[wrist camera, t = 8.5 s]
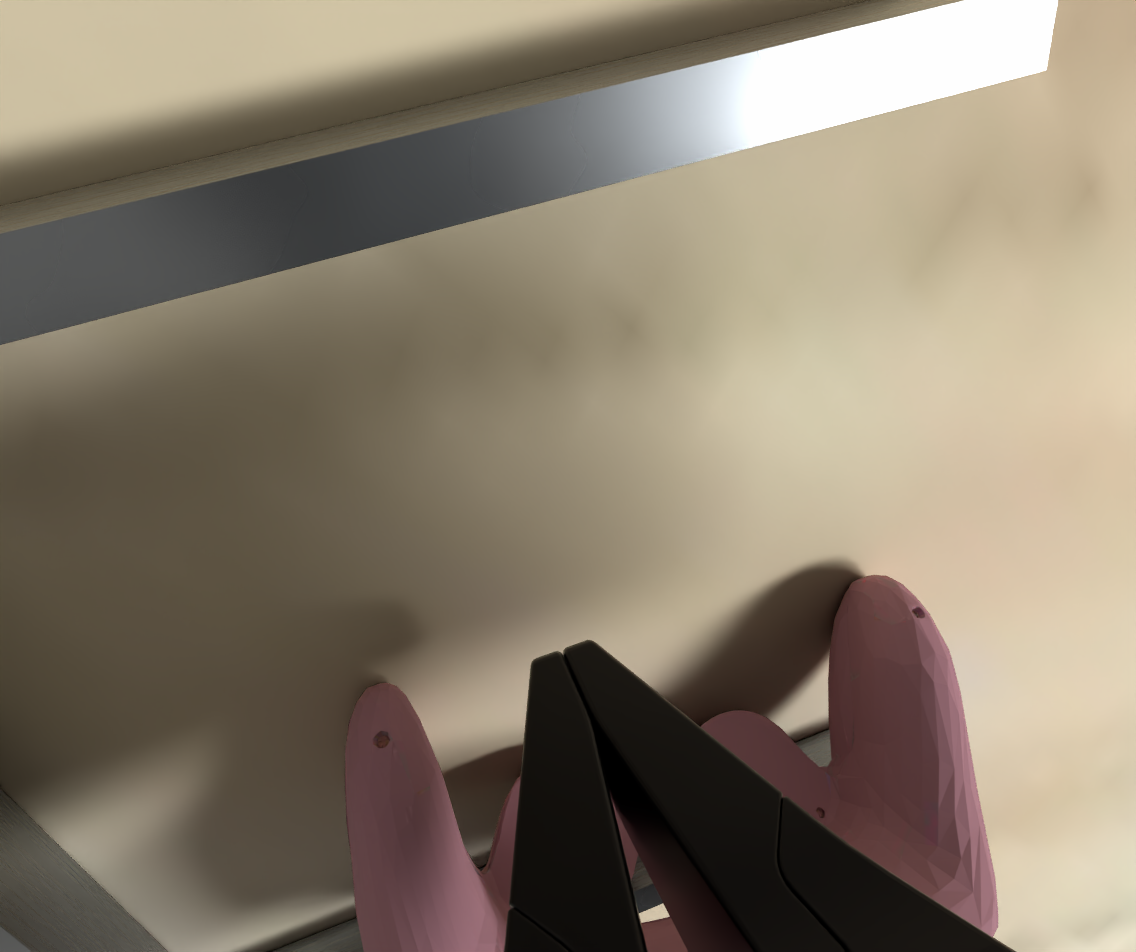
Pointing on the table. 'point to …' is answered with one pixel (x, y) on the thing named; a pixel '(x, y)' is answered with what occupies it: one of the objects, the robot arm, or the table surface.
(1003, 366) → the table surface
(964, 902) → the video game controller
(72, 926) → the metal bay
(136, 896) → the table surface
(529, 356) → the table surface
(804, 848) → the robot arm
